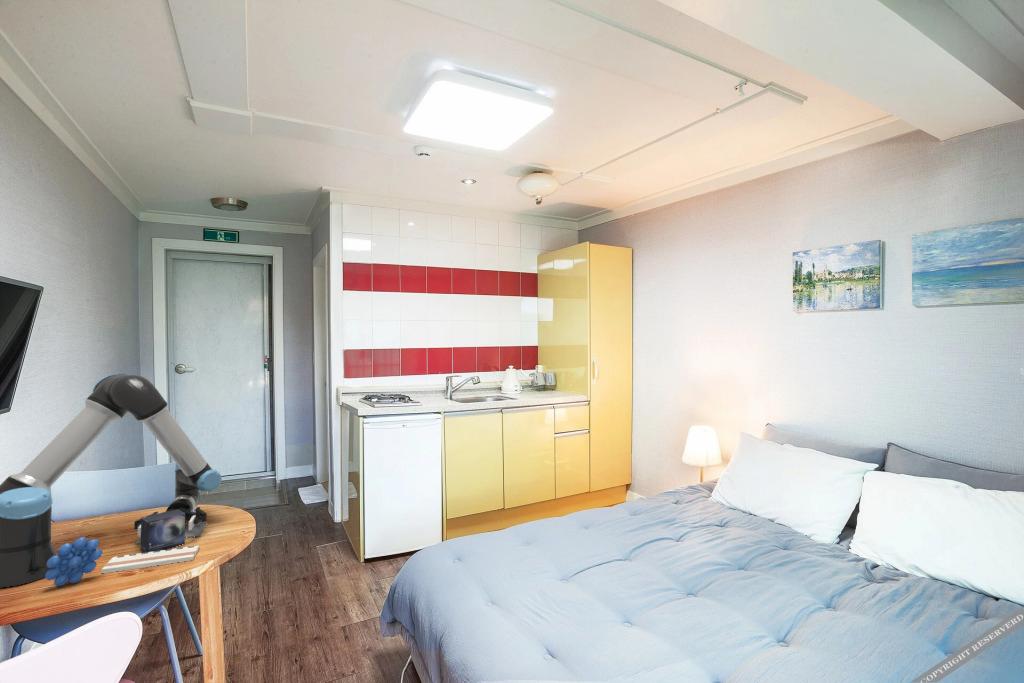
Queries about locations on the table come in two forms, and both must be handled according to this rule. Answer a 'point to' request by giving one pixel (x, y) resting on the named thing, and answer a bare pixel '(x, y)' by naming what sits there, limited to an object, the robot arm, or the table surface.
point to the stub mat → (189, 533)
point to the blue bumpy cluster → (73, 561)
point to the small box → (162, 531)
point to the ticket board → (150, 559)
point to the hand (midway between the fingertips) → (165, 529)
